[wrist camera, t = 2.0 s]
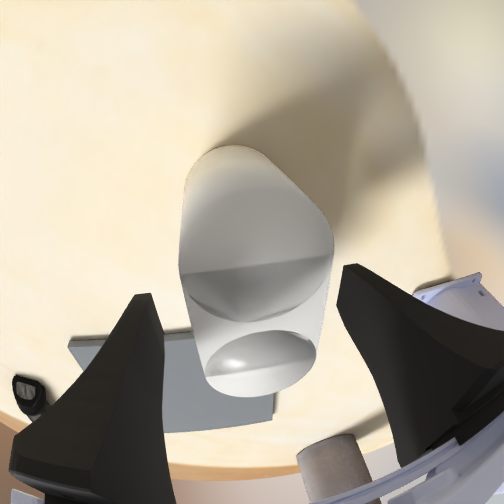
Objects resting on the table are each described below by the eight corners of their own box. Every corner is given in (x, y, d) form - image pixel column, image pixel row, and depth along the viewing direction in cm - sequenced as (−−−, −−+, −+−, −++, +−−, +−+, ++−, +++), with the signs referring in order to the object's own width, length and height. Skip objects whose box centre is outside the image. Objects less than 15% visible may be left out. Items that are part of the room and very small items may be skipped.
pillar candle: (358, 439, 38) (387, 509, 25) (306, 461, 39) (329, 531, 26) (347, 427, 33) (382, 514, 20) (285, 453, 34) (310, 538, 21)
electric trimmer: (56, 435, 25) (53, 455, 22) (12, 371, 17) (3, 398, 15) (81, 441, 26) (79, 461, 23) (44, 380, 18) (37, 409, 16)
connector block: (279, 141, 12) (341, 181, 7) (277, 324, 18) (305, 402, 13) (178, 150, 12) (165, 197, 7) (207, 334, 18) (218, 418, 13)
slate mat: (273, 319, 18) (276, 326, 17) (270, 415, 25) (272, 420, 25) (69, 340, 16) (67, 347, 15) (134, 428, 23) (134, 433, 23)
